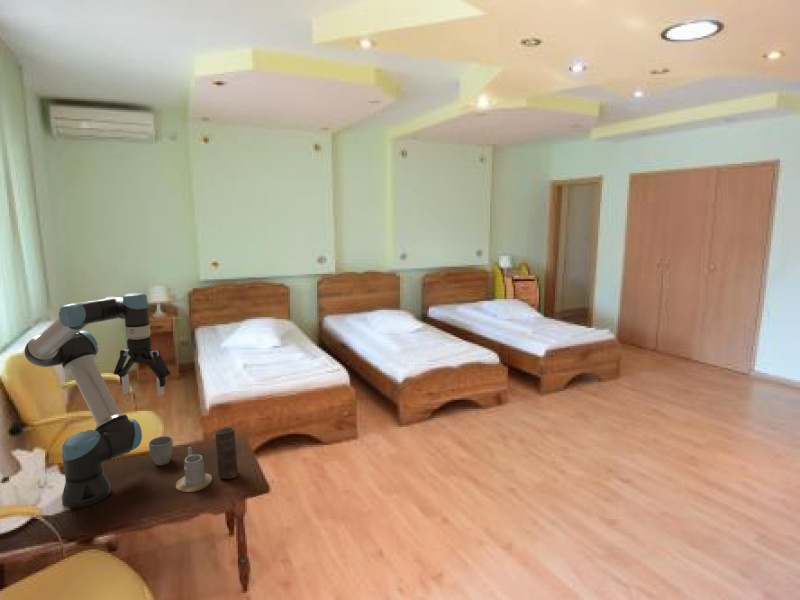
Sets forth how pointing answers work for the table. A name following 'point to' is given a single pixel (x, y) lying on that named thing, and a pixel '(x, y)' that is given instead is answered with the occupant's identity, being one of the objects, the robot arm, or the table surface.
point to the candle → (226, 453)
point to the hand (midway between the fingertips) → (143, 394)
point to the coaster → (183, 488)
